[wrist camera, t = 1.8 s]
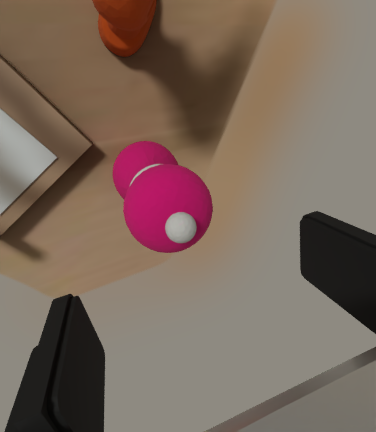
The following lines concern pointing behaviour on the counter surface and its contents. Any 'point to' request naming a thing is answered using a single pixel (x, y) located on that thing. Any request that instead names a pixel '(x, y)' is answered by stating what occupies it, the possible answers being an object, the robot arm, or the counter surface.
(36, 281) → the counter surface
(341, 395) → the robot arm
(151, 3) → the toy drill
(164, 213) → the pepper mill
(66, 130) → the brown picture frame
